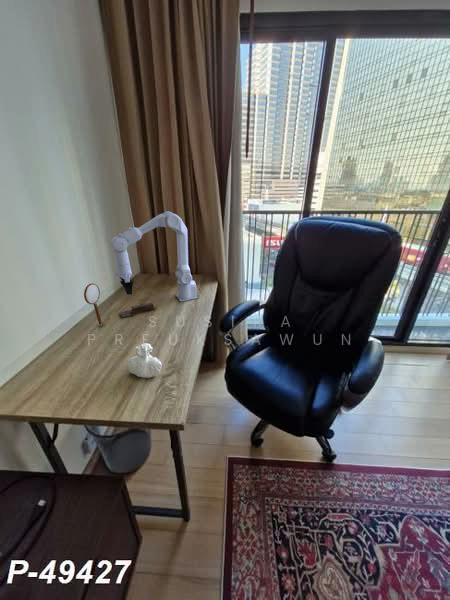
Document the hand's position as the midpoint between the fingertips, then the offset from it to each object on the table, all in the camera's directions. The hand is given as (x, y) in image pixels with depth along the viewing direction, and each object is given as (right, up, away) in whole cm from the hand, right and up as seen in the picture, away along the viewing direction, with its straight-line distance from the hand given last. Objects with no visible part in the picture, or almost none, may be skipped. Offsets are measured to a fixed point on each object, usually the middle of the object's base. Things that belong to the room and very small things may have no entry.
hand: (128, 290), depth 119 cm
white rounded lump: (+19, -29, -34) cm, 49 cm away
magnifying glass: (-9, -16, -9) cm, 20 cm away
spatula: (+4, -10, +2) cm, 11 cm away
